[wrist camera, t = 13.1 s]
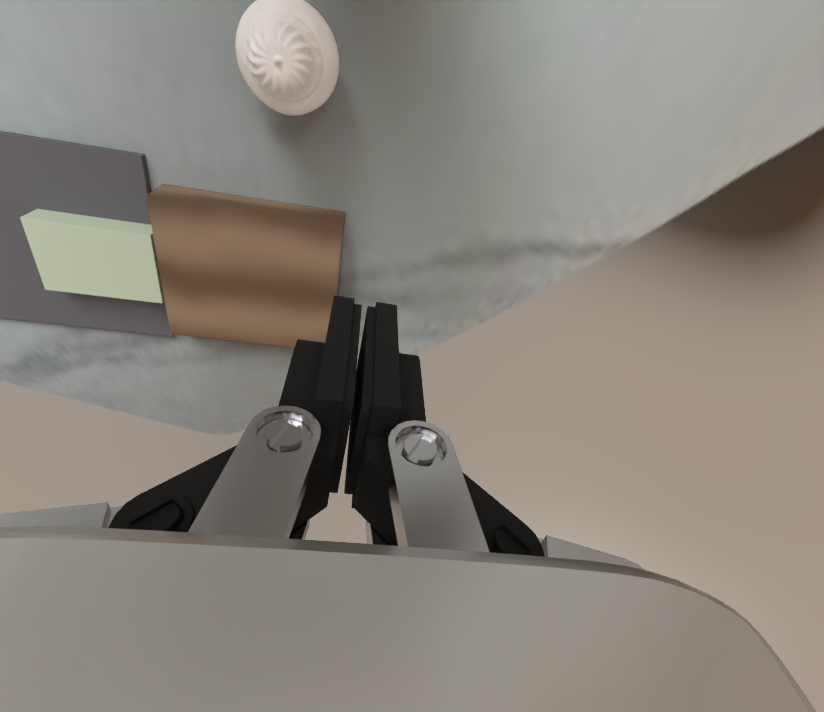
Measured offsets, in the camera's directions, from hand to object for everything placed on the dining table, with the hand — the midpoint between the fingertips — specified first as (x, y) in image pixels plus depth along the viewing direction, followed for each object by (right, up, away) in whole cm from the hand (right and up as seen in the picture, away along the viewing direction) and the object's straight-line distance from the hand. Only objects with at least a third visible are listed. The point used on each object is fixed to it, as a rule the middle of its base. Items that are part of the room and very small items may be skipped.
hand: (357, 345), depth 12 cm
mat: (-28, +9, +24) cm, 38 cm away
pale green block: (-24, +8, +23) cm, 34 cm away
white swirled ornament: (-6, +20, +18) cm, 27 cm away
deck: (-12, +7, +26) cm, 30 cm away
